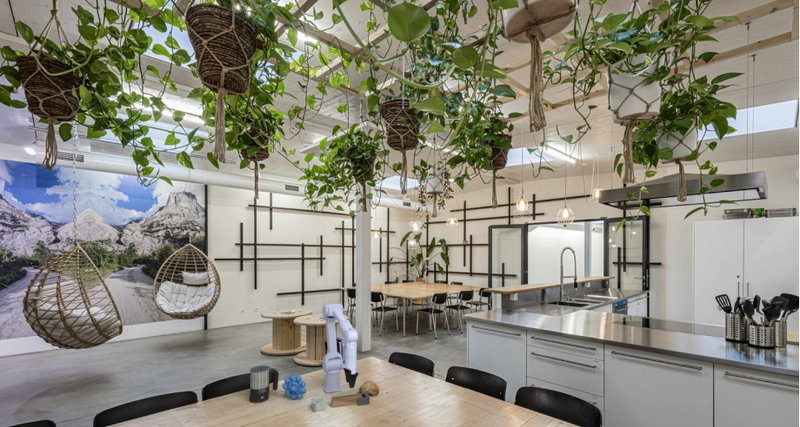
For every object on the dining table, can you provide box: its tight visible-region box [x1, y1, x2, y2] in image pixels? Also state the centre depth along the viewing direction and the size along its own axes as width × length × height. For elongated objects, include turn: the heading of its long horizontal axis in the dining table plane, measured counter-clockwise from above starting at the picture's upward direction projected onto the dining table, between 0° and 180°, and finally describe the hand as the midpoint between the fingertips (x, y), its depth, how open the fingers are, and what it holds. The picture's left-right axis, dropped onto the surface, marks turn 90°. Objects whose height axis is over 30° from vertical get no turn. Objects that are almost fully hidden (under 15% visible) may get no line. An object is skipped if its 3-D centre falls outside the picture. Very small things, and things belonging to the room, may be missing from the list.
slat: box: [330, 393, 362, 409], centre depth 177 cm, size 4×14×4 cm, turn 107°
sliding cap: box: [311, 397, 326, 412], centre depth 173 cm, size 7×5×3 cm
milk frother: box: [248, 365, 280, 404], centre depth 187 cm, size 14×16×15 cm
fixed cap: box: [357, 393, 370, 407], centre depth 179 cm, size 7×5×3 cm
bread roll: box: [358, 380, 380, 398], centre depth 190 cm, size 10×10×8 cm
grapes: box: [282, 373, 307, 400], centre depth 182 cm, size 12×7×12 cm, turn 95°
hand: (350, 384), depth 178 cm, fingers open, 7 cm apart
